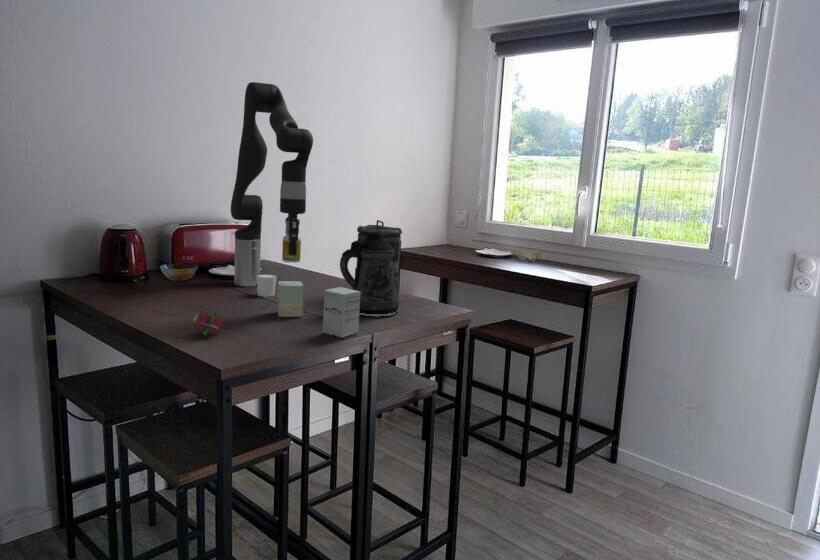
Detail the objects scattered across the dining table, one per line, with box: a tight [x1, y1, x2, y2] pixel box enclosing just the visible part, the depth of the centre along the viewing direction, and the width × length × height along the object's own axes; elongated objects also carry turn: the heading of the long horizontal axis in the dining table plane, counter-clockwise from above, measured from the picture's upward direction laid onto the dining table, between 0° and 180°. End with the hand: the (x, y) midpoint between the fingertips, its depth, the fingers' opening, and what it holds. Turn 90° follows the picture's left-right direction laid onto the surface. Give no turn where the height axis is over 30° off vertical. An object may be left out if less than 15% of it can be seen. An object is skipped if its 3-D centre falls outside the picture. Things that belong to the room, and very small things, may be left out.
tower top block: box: [277, 280, 304, 303], centre depth 186 cm, size 7×7×5 cm
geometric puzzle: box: [193, 309, 225, 338], centre depth 160 cm, size 7×7×8 cm
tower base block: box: [276, 298, 304, 317], centre depth 187 cm, size 7×7×5 cm
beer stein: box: [339, 235, 400, 314], centre depth 195 cm, size 16×19×25 cm
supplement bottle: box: [281, 228, 302, 263], centre depth 183 cm, size 5×5×10 cm
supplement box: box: [322, 286, 361, 337], centre depth 168 cm, size 7×7×13 cm
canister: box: [354, 219, 403, 298], centre depth 214 cm, size 16×16×28 cm
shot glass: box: [256, 273, 277, 298], centre depth 210 cm, size 7×7×7 cm
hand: (291, 253), depth 183 cm, fingers closed on supplement bottle, 5 cm apart
